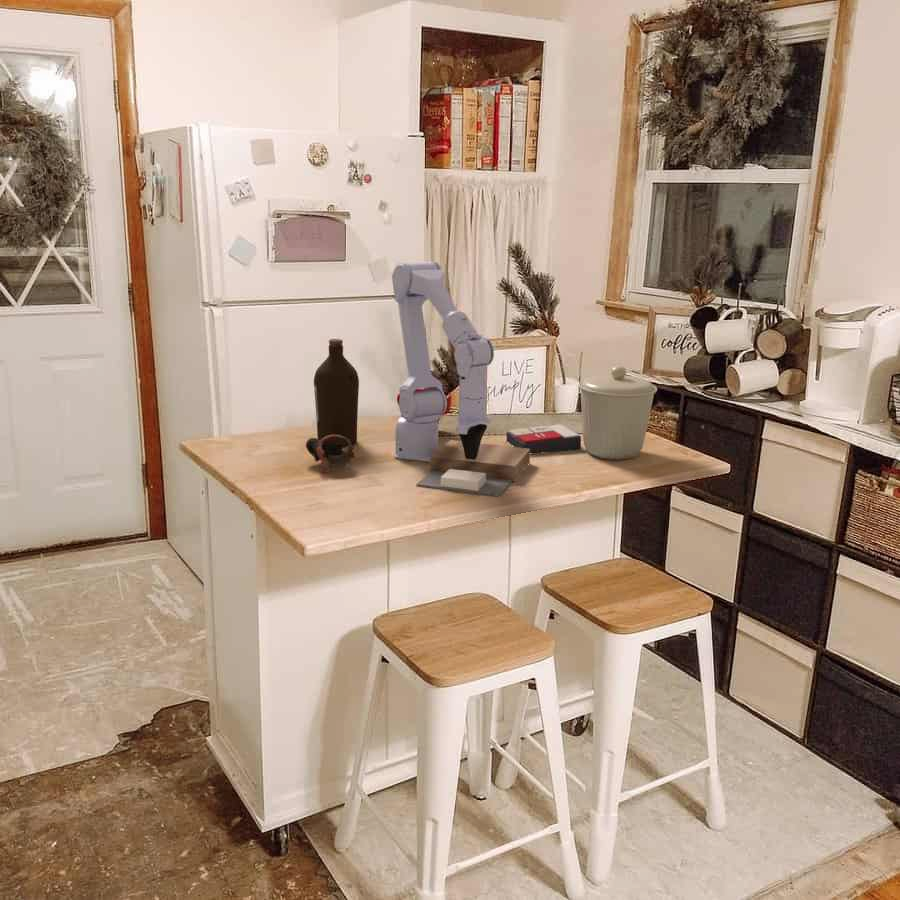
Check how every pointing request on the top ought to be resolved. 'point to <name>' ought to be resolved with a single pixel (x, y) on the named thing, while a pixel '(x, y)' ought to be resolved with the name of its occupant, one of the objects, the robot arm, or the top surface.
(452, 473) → the tile
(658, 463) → the top surface
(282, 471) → the top surface
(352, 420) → the olive oil
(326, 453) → the pottery mug
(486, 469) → the block
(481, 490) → the mat
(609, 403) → the canister
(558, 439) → the calculator
